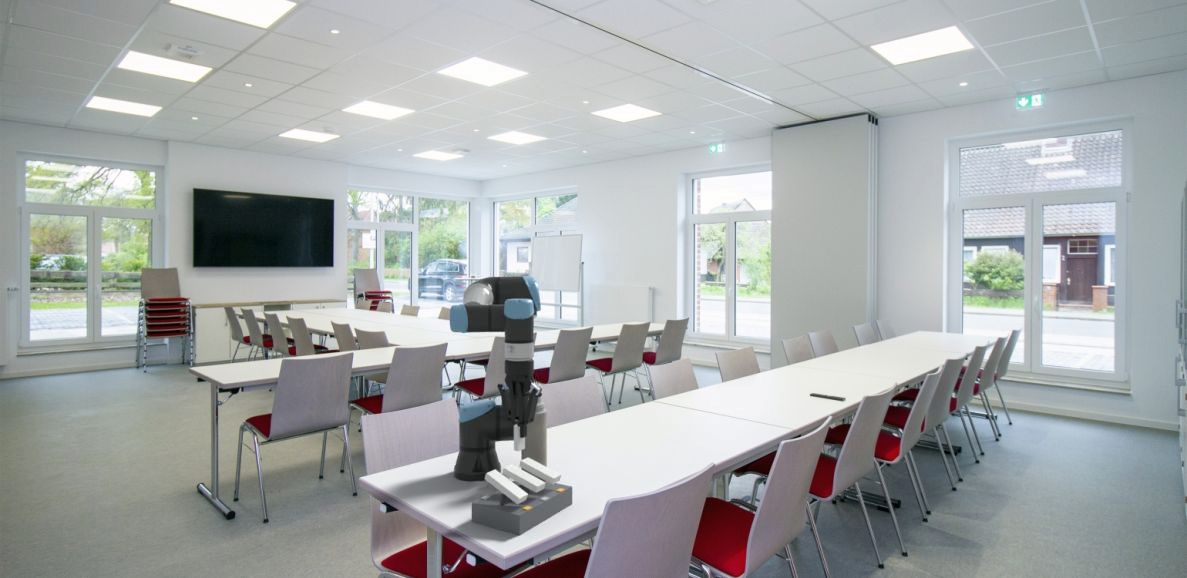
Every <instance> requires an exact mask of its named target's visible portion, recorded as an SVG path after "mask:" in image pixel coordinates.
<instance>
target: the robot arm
mask: <svg viewBox="0 0 1187 578" xmlns="http://www.w3.org/2000/svg"><path fill="white" fill-rule="evenodd" d="M462 299H463V302H462V303H461V304H453V305H451V306H450V308H449V329H450V331H451V333H462V334H466V333H467V334H468V333H471V334H472V333H504V358H505V360H504V374H505V378H504V381H503V382H501V383H498V384H497V388H498V391H499V393H500V397H501V404H497V403H496V401H495V400H494V399H483V400H482V399H481V400H476V401H472V402H469V403H465V404H464V405H463V406H461V407H460V409H459V417H458V418H459V419H458V423H459V427H458V428H459V432H458V433H459V435H458V436H459V438H458V439H459V441H458V443H459V448H458V449H459V451H458V454H457V457H456V462H455V465H454V468H453V475H454V477H455V478H456V479H459V480H461V481H468V482H470V481H473V482H475V481H486V480H485V476H486V473H488V472H490V471H493V470H495V469H496V470H497V471H498V472H499V473H501V474H502V464H501V462H500V459H499V457H498V453H497V450H496V442H509V441H510V442H511V441H512V442H513V451H515V452H520V451H521V450H523V449H525V437H527V424H529V423H532V422H533V421H534V417H535V412H536V407H537V402H538V397H539V394H540V393H542V389H543V388H542V387H541V386H537V385H536V384H535V381H534V377H533V376H534V375H533V374H534V372H535V361H534V359H533V358H534V356H535V344H534V343H535V342H534V335H535V333H534V330H535V328H534V325H535V321H534V320H535V319H536V318H537V317H538V312H541V310H542V305H541V296H540V288H539V284H538V280H537V279H536V278H535V277H533V276H488V277H484V278H480V279H478V280H476V281H473V282H472V283H471V284H469V285H468V286H467V287H466V288H465V290H464V292H463V296H462ZM529 392H530V396H529ZM528 398H529V400H528Z"/></svg>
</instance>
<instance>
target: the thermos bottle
mask: <svg viewBox="0 0 1187 578" xmlns="http://www.w3.org/2000/svg"><path fill="white" fill-rule="evenodd" d="M529 396H530V392H529ZM542 396H543V393H542V392H541V393H540V394H539V397H538V402H537V407H536V412H535V417H534V421H533V422H532V423H529V424H527V437H525V449H523V450H520V451H521V456H520V457H521V460H523V459H526V458H530V459H532V460H534V461H536V462H538V463H540V464H542V465H544V466H545V467H547V468H548V465H547V463H548V462H547V461H548V460H547V459H548V458H547V457H548V456H547V455H548V451H547V450H548V449H547V447H548V445H547V444H548V443H547V442H548V437H547V436H548V432H547V431H548V426H547V423H548V419H547V417H548V413H547V412H548V410H547V409H546V408H545V407H546V405H545V402H543V400H542V399H543V397H542ZM528 400H529V398H528ZM521 460H520V461H521ZM520 469H521V470H523V471H525V472H527V473H529V474H531V475H532V476H534V477H537V476H536V475H534V474H532V473H531V472H529V471H527V470H525V469H523V468H521V467H520Z"/></svg>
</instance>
